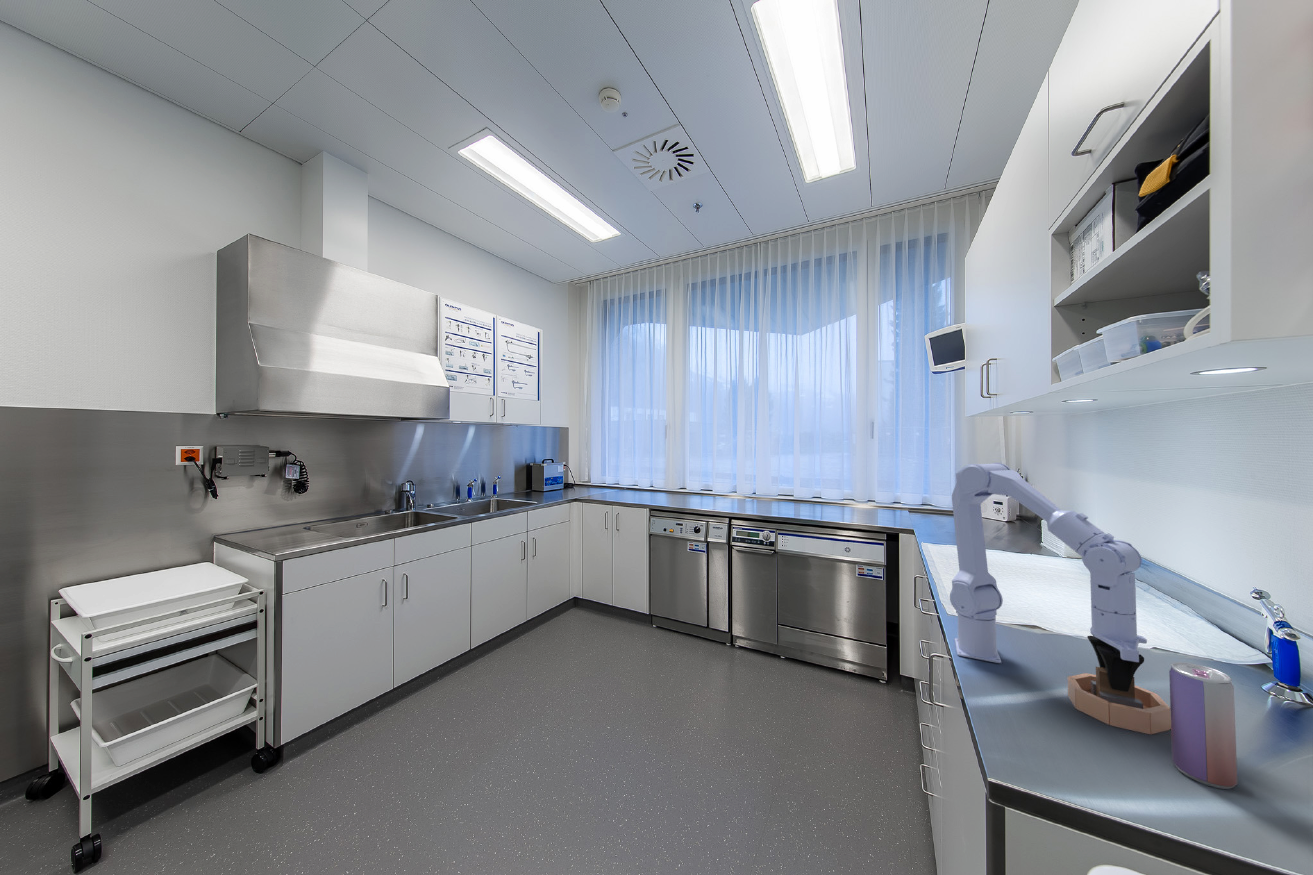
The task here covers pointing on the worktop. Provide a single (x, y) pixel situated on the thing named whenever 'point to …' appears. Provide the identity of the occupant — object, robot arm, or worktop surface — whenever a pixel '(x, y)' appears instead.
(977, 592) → the robot arm
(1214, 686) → the beverage can
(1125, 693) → the brown rectangular block
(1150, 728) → the tan octagonal tray
